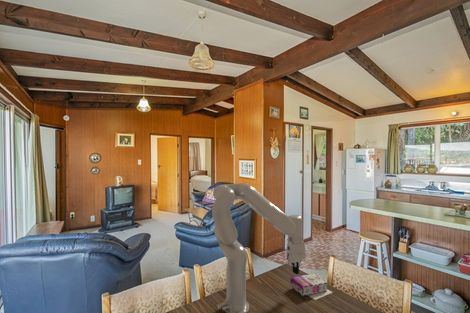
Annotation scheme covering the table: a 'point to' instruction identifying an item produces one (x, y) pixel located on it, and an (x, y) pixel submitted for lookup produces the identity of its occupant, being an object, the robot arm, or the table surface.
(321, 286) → the candy bar box
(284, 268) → the table surface
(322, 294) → the white mat
